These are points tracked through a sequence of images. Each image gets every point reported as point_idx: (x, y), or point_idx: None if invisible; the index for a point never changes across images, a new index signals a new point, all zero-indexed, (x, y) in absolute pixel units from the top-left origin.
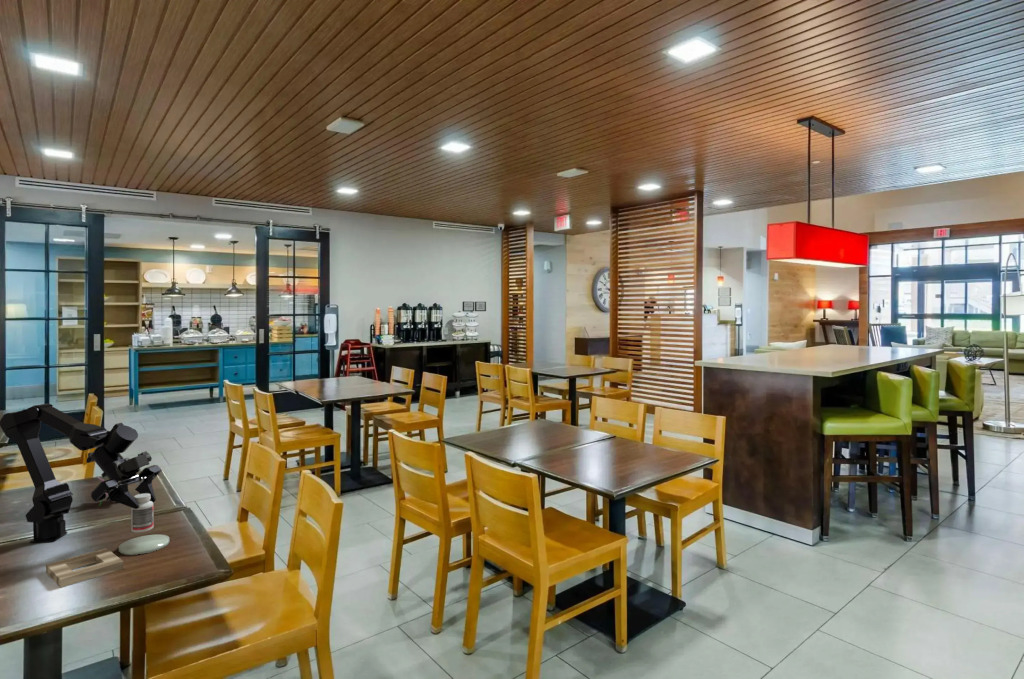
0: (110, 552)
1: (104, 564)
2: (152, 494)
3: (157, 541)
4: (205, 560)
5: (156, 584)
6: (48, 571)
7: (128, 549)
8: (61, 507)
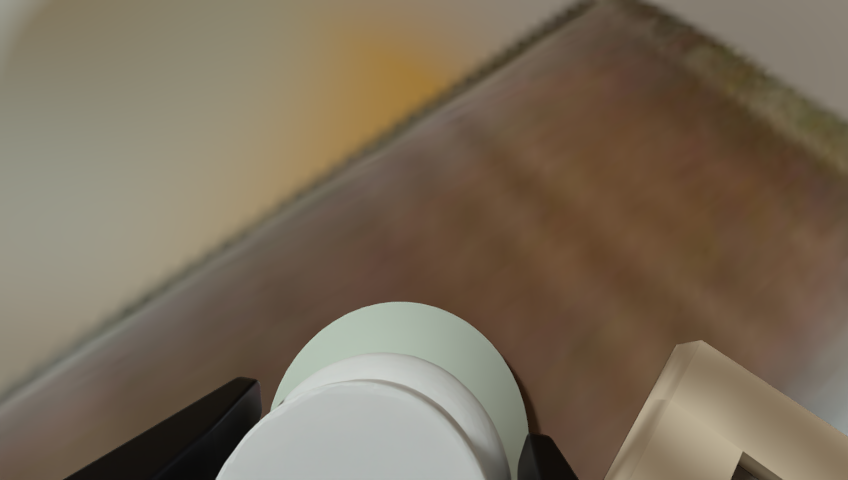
0: None
1: (769, 421)
2: (182, 439)
3: None
4: (534, 69)
5: (754, 122)
6: None
7: None
8: None
